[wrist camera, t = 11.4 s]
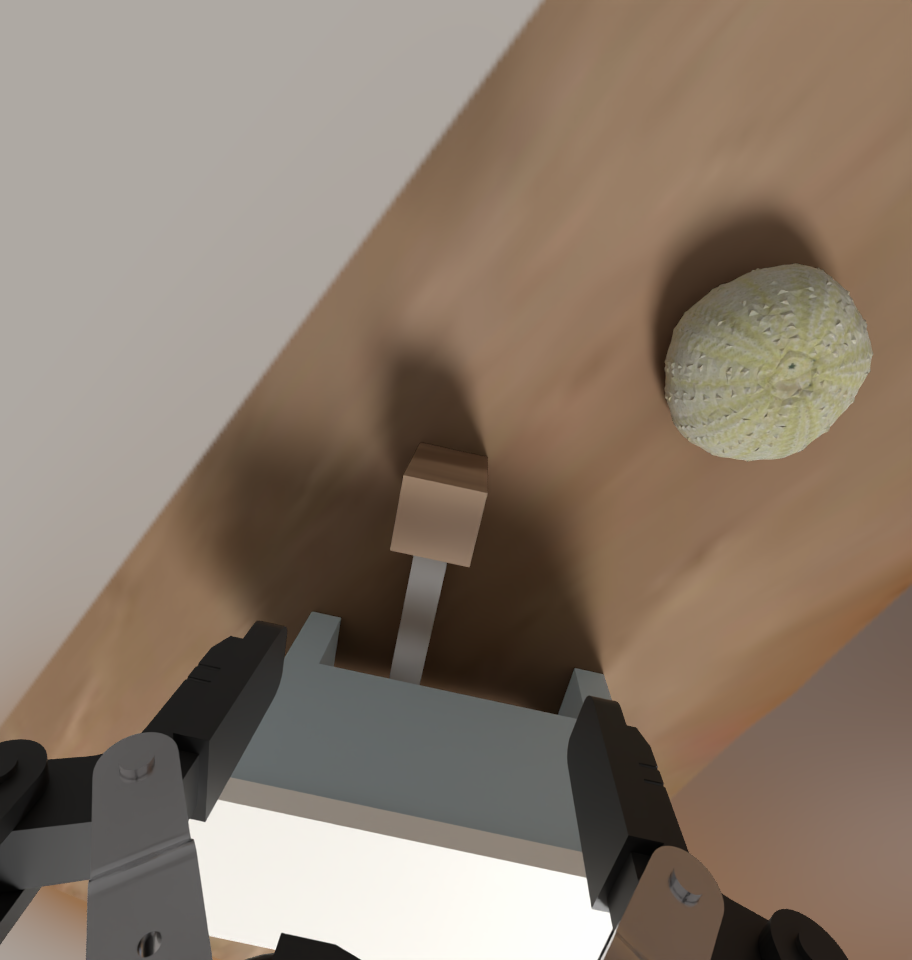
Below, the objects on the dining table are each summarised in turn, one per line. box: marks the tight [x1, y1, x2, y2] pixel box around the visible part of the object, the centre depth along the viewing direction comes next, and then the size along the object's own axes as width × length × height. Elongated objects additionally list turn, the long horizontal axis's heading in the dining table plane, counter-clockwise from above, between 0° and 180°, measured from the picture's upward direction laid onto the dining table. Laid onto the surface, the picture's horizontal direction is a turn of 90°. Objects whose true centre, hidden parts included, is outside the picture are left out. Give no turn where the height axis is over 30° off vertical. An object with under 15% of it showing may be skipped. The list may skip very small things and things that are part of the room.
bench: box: [188, 612, 613, 960], centre depth 28 cm, size 9×21×14 cm, turn 78°
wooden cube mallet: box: [389, 442, 488, 685], centre depth 28 cm, size 16×4×6 cm, turn 168°
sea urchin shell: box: [664, 263, 873, 462], centre depth 24 cm, size 9×8×8 cm
